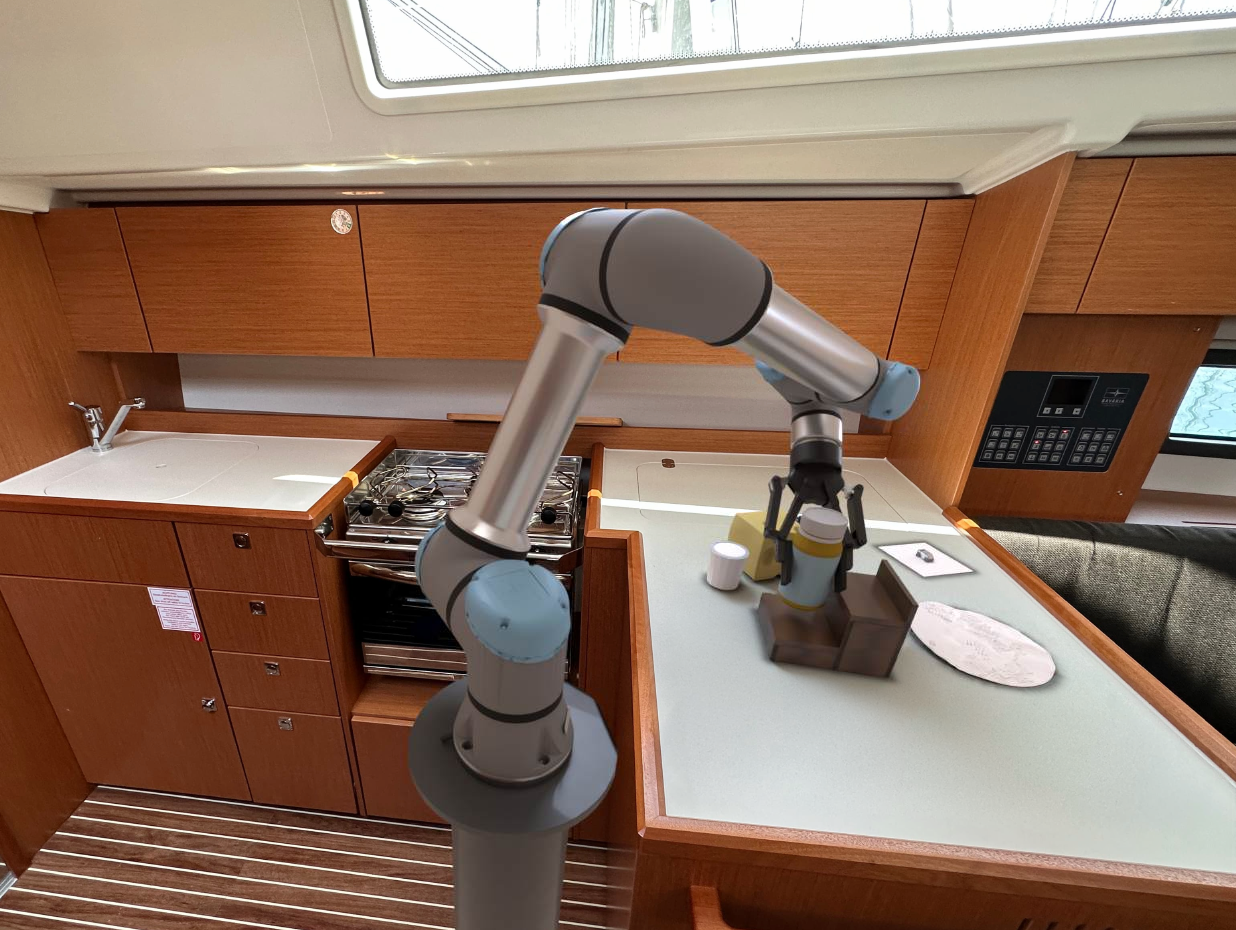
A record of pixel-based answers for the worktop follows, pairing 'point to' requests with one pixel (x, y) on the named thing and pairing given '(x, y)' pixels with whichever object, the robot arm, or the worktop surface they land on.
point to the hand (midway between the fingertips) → (812, 586)
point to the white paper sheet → (925, 559)
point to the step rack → (843, 625)
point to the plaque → (982, 646)
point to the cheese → (758, 543)
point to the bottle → (814, 558)
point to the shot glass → (726, 564)
